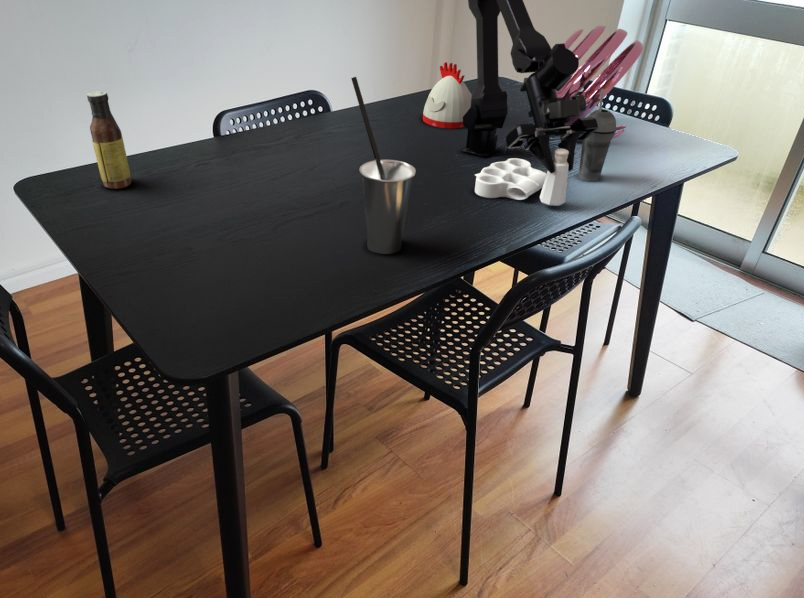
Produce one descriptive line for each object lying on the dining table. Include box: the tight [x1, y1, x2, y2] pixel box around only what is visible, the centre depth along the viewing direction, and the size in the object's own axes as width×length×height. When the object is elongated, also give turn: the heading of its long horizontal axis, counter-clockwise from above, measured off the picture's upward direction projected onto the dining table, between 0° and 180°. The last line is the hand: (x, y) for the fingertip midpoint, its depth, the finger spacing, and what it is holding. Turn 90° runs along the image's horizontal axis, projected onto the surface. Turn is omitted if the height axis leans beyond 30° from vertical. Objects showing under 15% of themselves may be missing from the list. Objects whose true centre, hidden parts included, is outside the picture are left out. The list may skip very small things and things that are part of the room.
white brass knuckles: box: [474, 157, 547, 201], centre depth 159 cm, size 3×18×15 cm
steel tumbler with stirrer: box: [350, 76, 417, 255], centre depth 127 cm, size 11×11×30 cm
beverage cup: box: [578, 89, 617, 182], centre depth 159 cm, size 7×7×20 cm
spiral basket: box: [556, 24, 645, 143], centre depth 181 cm, size 28×28×27 cm
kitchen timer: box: [422, 61, 473, 129], centre depth 193 cm, size 14×14×15 cm
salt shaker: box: [539, 148, 569, 207], centre depth 148 cm, size 5×5×11 cm
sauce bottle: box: [86, 90, 132, 190], centre depth 151 cm, size 7×6×20 cm
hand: (561, 171), depth 146 cm, fingers closed on salt shaker, 4 cm apart
